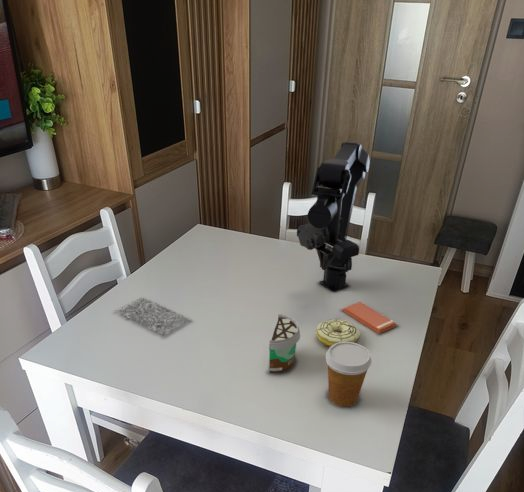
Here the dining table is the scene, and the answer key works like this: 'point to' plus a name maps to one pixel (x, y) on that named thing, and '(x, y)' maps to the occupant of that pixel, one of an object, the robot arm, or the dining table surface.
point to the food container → (283, 344)
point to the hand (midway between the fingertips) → (324, 269)
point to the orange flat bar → (369, 317)
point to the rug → (152, 316)
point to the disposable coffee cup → (346, 372)
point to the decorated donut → (337, 332)
